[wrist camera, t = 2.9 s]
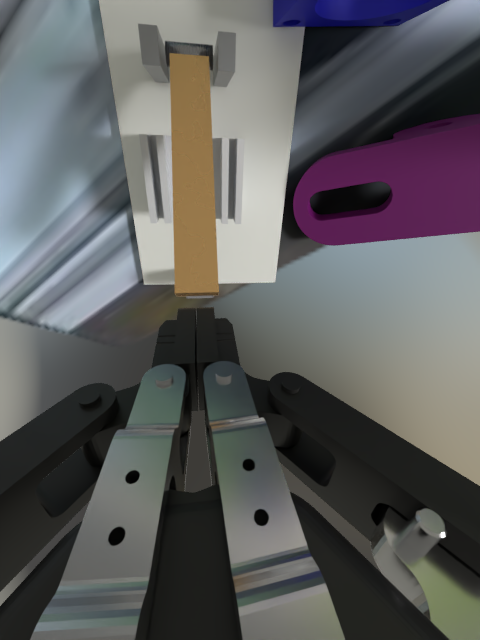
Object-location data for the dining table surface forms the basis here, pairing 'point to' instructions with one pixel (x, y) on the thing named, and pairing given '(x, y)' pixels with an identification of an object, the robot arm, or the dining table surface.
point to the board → (227, 125)
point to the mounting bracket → (400, 185)
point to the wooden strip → (192, 169)
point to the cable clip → (348, 12)
